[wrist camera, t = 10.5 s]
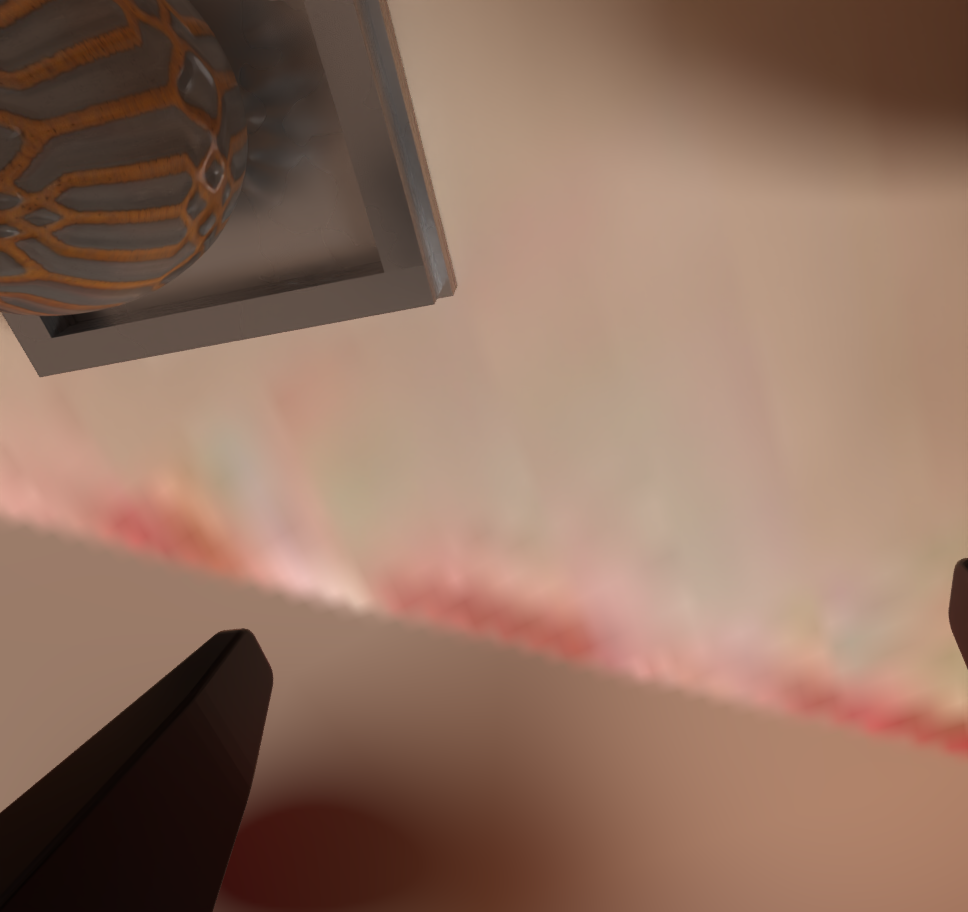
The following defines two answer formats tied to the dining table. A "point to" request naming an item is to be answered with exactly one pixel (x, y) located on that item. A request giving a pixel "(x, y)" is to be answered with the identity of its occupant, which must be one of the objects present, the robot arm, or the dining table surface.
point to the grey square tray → (290, 197)
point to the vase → (111, 150)
